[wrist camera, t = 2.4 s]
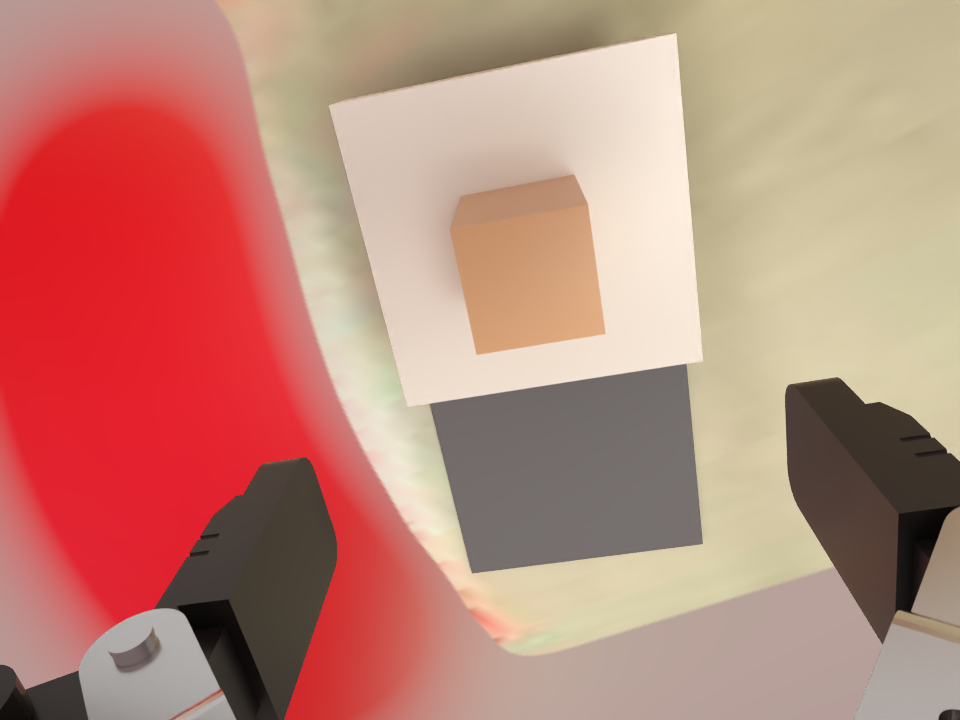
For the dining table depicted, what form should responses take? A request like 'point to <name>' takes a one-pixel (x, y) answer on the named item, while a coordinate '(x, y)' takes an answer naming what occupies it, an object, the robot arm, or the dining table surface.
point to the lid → (529, 220)
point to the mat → (573, 469)
